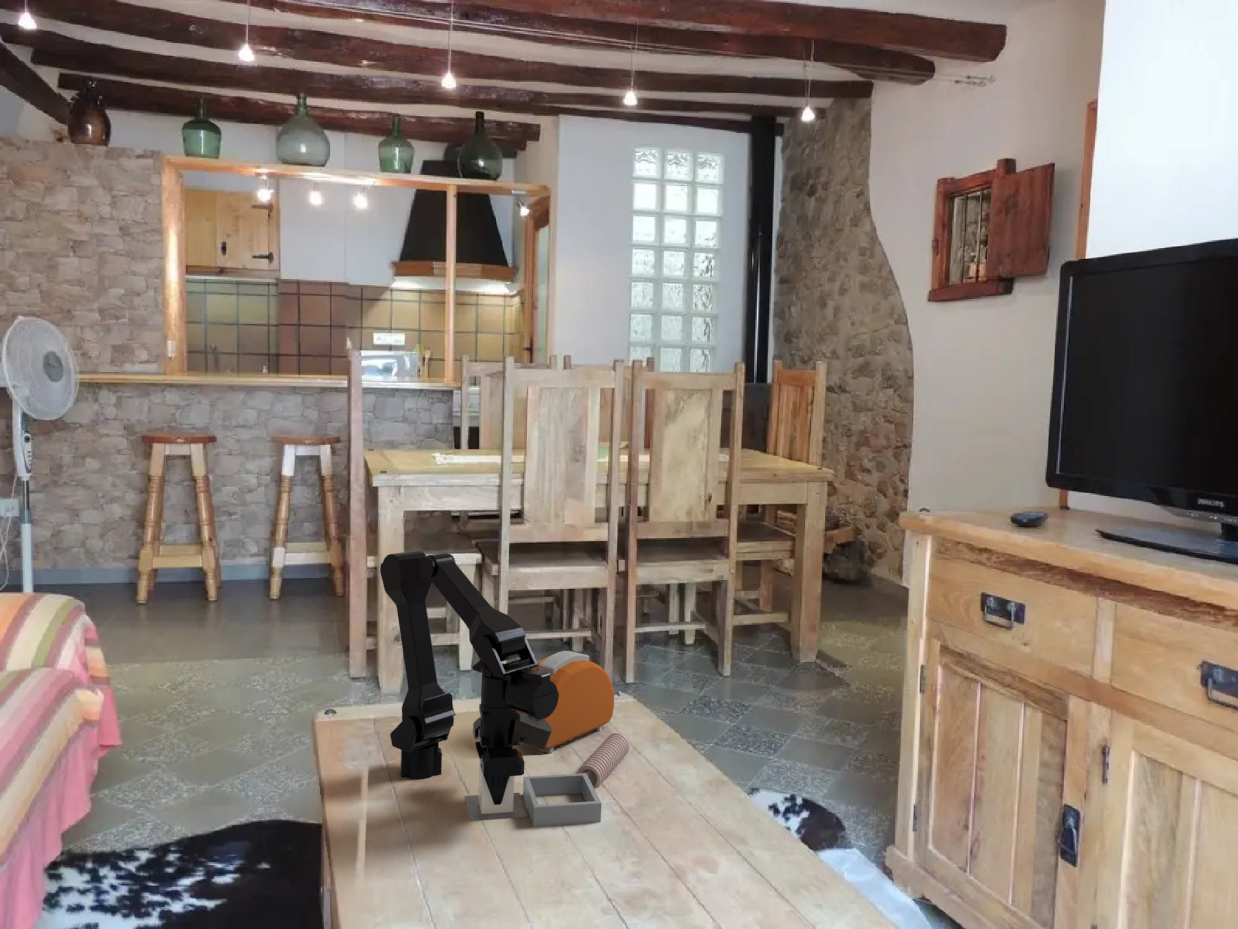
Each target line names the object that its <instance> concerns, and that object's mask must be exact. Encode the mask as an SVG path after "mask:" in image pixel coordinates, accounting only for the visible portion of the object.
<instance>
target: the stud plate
mask: <svg viewBox="0 0 1238 929" xmlns="http://www.w3.org/2000/svg"><path fill="white" fill-rule="evenodd" d="M464 799H465V803H466V810H467V814H468V821H469V822H475V821H477V822H478V821H493V820H507V819H518V818H519V819H522V818H528V814H527V813H526V809H525V806H524V803H523V799H522V796H521V793H520V792H514V797H513V812H506V813H491V814H481V810H480V806H479V801H478V795H477V794H476V795H474V794H473V795H464Z"/></svg>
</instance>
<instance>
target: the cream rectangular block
mask: <svg viewBox="0 0 1238 929" xmlns="http://www.w3.org/2000/svg"><path fill="white" fill-rule="evenodd" d="M480 764H481V759H480V758H479V764H478V765H479V768H478V773H479V774H478V801H479V806H480V810H481V814H491V813H506V812H513V797H514V793H515V776H510V777H509V780H508V783H507V786H506V790H505V793H504V796H503V800H502V803H501V804H500V805H494V803H493V800H492V797H491V794H490V792H489V789H488V786H487V784H486V781H485V778H484V776H483V773H482V770H481V766H480Z"/></svg>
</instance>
